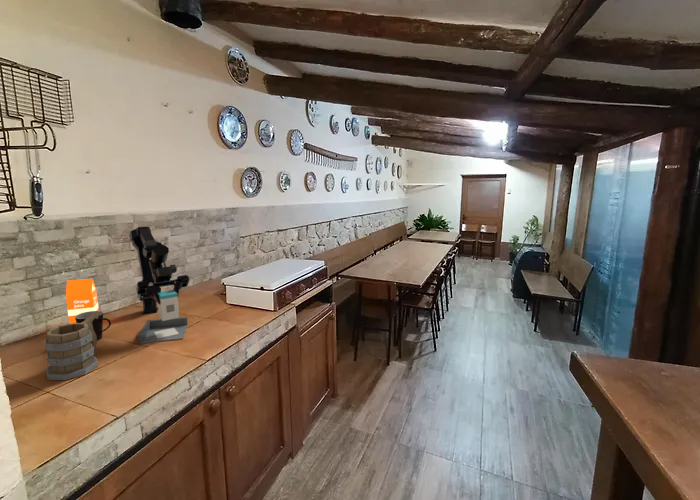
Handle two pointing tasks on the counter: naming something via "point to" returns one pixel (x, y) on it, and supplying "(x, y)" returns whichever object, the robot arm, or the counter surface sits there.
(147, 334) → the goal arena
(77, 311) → the orange juice
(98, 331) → the coffee mug
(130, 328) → the counter surface
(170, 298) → the white teal-lidded canister
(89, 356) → the tankard
